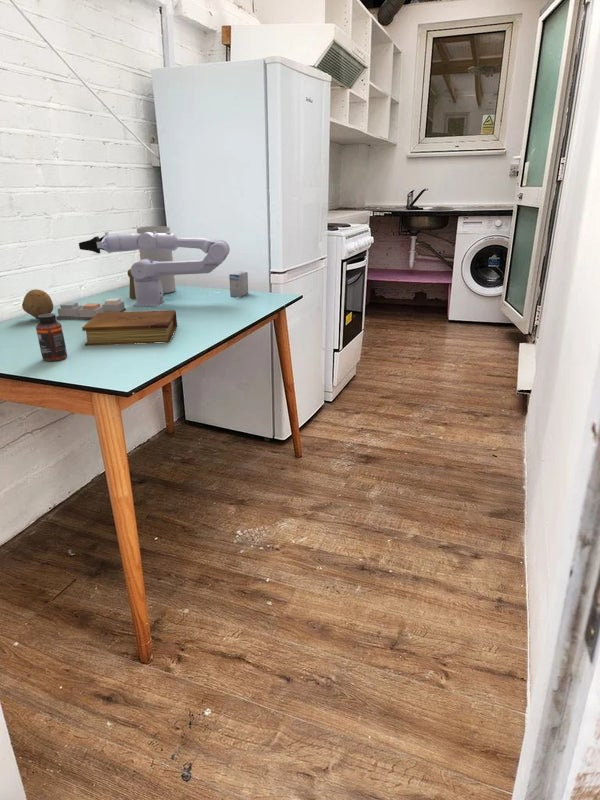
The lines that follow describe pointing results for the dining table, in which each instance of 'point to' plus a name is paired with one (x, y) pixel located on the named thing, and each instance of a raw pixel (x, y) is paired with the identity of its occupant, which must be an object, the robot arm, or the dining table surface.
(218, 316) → the dining table surface
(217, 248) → the robot arm
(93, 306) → the button terracotta
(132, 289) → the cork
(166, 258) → the tall grey block
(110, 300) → the button cream
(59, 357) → the supplement bottle
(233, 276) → the medicine box
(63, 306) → the button slate
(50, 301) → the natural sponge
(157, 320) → the diary
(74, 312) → the board
